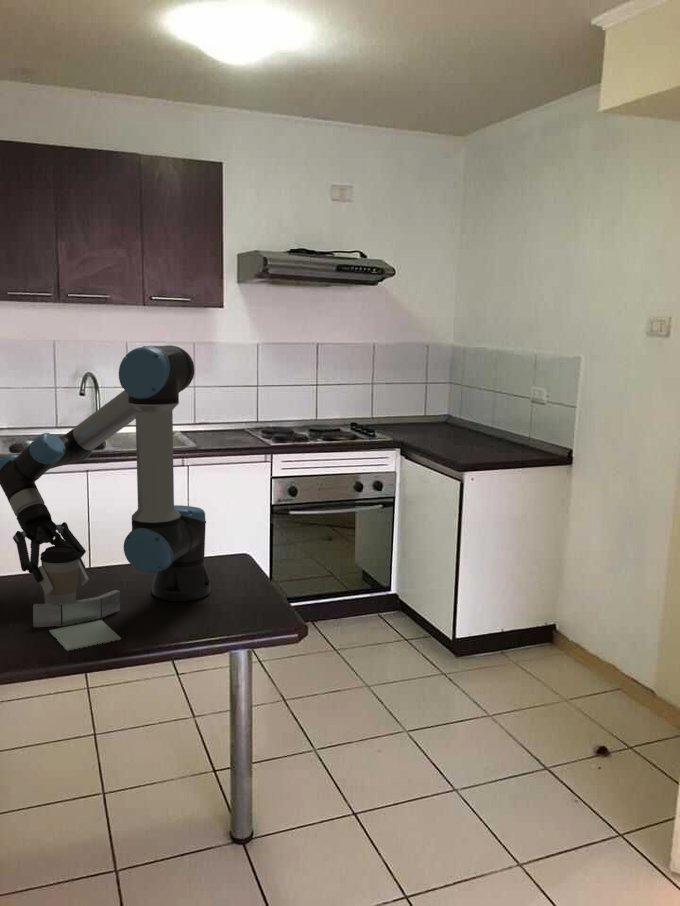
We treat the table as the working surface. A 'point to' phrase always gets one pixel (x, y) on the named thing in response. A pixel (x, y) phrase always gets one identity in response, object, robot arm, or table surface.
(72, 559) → the coffee cup
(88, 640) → the mat
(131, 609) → the table surface
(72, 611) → the bent rail
